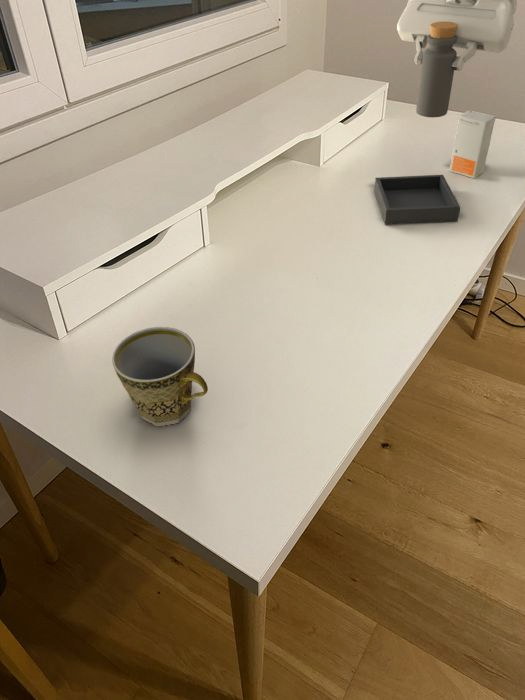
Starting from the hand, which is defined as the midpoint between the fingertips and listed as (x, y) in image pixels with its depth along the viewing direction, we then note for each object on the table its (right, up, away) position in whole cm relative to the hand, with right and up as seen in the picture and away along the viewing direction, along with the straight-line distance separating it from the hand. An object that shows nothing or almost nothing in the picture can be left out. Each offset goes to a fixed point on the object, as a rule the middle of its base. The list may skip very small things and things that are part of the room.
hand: (437, 66), depth 106 cm
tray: (-2, -23, +9) cm, 25 cm away
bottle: (+1, -6, +6) cm, 9 cm away
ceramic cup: (-43, -60, -29) cm, 79 cm away
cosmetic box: (+12, -13, +20) cm, 27 cm away
